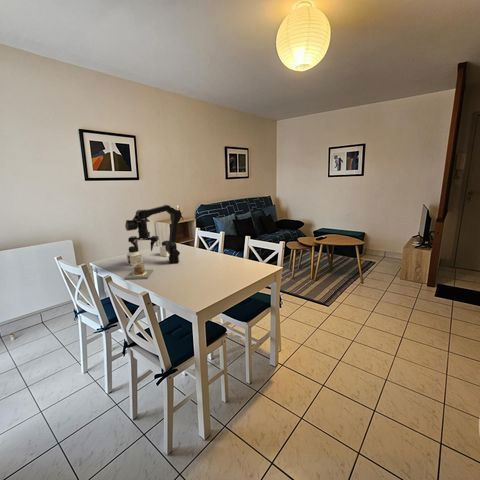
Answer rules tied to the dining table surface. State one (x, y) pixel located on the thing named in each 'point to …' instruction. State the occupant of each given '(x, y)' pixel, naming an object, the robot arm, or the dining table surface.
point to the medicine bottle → (163, 249)
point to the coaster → (144, 276)
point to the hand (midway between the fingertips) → (144, 251)
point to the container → (134, 256)
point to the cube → (139, 270)
